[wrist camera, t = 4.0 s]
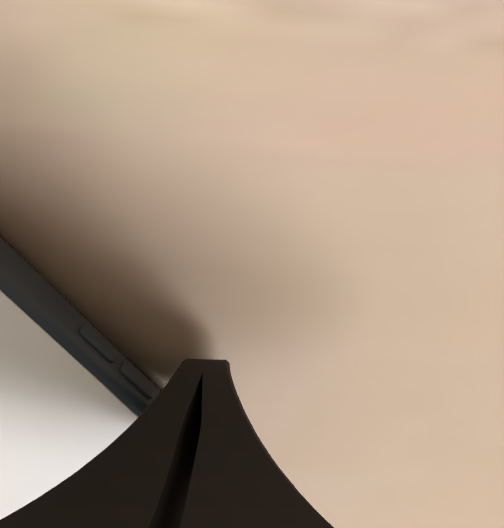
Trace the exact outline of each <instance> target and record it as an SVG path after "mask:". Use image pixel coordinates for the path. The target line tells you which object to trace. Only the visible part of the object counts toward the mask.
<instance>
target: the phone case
mask: <svg viewBox="0 0 504 528" xmlns="http://www.w3.org/2000/svg"><path fill="white" fill-rule="evenodd" d="M160 392H161V391H160V390H159V389H158V388H157V387H156V386H155V385H154V384H153V383H152V382H150V381H149V380H148V379H147V378H146V377H145V376H144V375H143V374H142V373H141V372H140V371H139V370H138V369H137V368H136V367H135V366H134V365H133V364H132V363H131V362H130V361H129V360H128V359H127V358H126V357H125V356H124V355H122V354H121V353H120V352H119V351H118V350H117V349H116V348H115V347H114V346H113V345H112V344H111V343H110V342H109V341H108V340H107V339H106V338H105V337H104V336H103V335H102V334H101V333H100V332H99V331H98V330H97V329H95V328H94V327H93V326H92V325H91V324H90V323H89V322H88V321H87V320H86V319H85V318H84V317H83V316H82V315H81V314H80V313H79V312H78V311H77V310H76V309H75V308H74V307H73V306H72V305H71V304H70V303H69V302H67V301H66V300H65V299H64V298H63V297H62V296H61V295H60V294H59V293H58V292H57V291H56V290H55V289H54V288H53V287H52V286H51V285H50V284H49V283H48V282H47V281H46V280H45V279H44V278H43V277H42V276H41V275H39V274H38V273H37V272H36V271H35V270H34V269H33V268H32V267H31V266H30V265H29V264H28V263H27V262H26V261H25V260H24V259H23V258H22V257H21V256H20V255H19V254H18V253H17V252H16V251H15V250H14V249H13V248H11V247H10V246H9V245H8V244H7V243H6V242H5V241H4V240H3V239H2V238H1V237H0V520H1V519H2V518H4V517H6V516H8V515H9V514H11V513H13V512H15V511H16V510H18V509H20V508H22V507H23V506H25V505H27V504H28V503H30V502H32V501H33V500H35V499H37V498H38V497H40V496H41V495H43V494H44V493H46V492H47V491H49V490H50V489H52V488H53V487H55V486H57V485H58V484H59V483H61V482H62V481H64V480H65V479H67V478H68V477H70V476H71V475H72V474H74V473H75V472H77V471H78V470H79V469H80V468H82V467H83V466H84V465H86V464H87V463H88V462H89V461H91V460H92V459H93V458H94V457H96V456H97V455H98V454H99V453H100V452H102V451H103V450H104V449H105V448H107V447H108V446H109V445H110V444H111V443H112V442H113V441H114V440H115V439H117V438H118V437H119V436H120V435H121V434H122V433H123V432H124V431H125V430H126V429H127V428H128V427H129V426H130V425H131V424H132V423H133V422H134V421H135V420H136V419H137V418H138V417H139V416H140V415H141V414H142V413H143V411H144V410H145V409H146V408H147V407H148V406H149V405H150V404H151V403H152V402H153V400H154V399H155V398H156V397H157V396H158V394H159V393H160Z"/></svg>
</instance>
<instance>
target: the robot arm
mask: <svg viewBox="0 0 504 528" xmlns="http://www.w3.org/2000/svg"><path fill="white" fill-rule="evenodd" d="M229 364H230V363H229V362H228V361H227V360H206V359H185V360H184V361H183V362H182V363H181V365H180V366H179V368H178V369H177V371H176V372H175V374H174V375H173V376H172V378H171V379H170V380H169V382H168V383H167V384H166V386H165V387H164V388H163V389H162V391H161V392H160V393H159V394H158V396H157V397H156V398H155V399H154V400H153V402H152V403H151V404H150V405H149V406H148V407H147V408H146V409H145V410H144V411H143V413H142V414H141V415H140V416H139V417H138V418H137V419H136V420H135V421H134V422H133V423H132V424H131V425H130V426H129V427H128V428H127V429H126V430H125V431H124V432H123V433H122V434H121V435H120V436H119V437H118V438H117V439H115V440H114V441H113V442H112V443H111V444H110V445H109V446H108V447H107V448H105V449H104V450H103V451H102V452H100V453H99V454H98V455H97V456H96V457H94V458H93V459H92V460H91V461H89V462H88V463H87V464H86V465H84V466H83V467H82V468H80V469H79V470H78V471H77V472H75V473H74V474H72V475H71V476H70V477H68V478H67V479H65V480H64V481H62V482H61V483H59V484H58V485H57V486H55V487H53V488H52V489H50V490H49V491H47V492H46V493H44V494H43V495H41V496H40V497H38V498H37V499H35V500H33V501H32V502H30V503H28V504H27V505H25V506H23V507H22V508H20V509H18V510H16V511H15V512H13V513H11V514H9V515H8V516H6V517H4V518H2V519H1V520H0V528H334V527H333V526H331V525H330V524H329V523H328V522H327V521H326V520H325V519H324V518H323V517H322V516H321V515H320V514H319V513H318V512H317V511H316V510H315V509H314V508H313V507H312V506H311V505H310V504H309V502H308V501H307V500H306V499H305V498H304V497H303V496H302V495H301V494H300V493H299V492H298V490H297V489H296V488H295V487H294V485H293V484H292V483H291V482H290V481H289V479H288V478H287V477H286V476H285V474H284V473H283V472H282V471H281V469H280V468H279V467H278V466H277V464H276V463H275V461H274V460H273V459H272V457H271V456H270V454H269V453H268V451H267V450H266V448H265V447H264V445H263V444H262V442H261V441H260V439H259V437H258V436H257V434H256V432H255V430H254V429H253V427H252V425H251V423H250V421H249V419H248V417H247V415H246V413H245V411H244V409H243V407H242V404H241V402H240V400H239V397H238V395H237V392H236V390H235V387H234V384H233V380H232V377H231V373H230V366H229Z"/></svg>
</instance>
